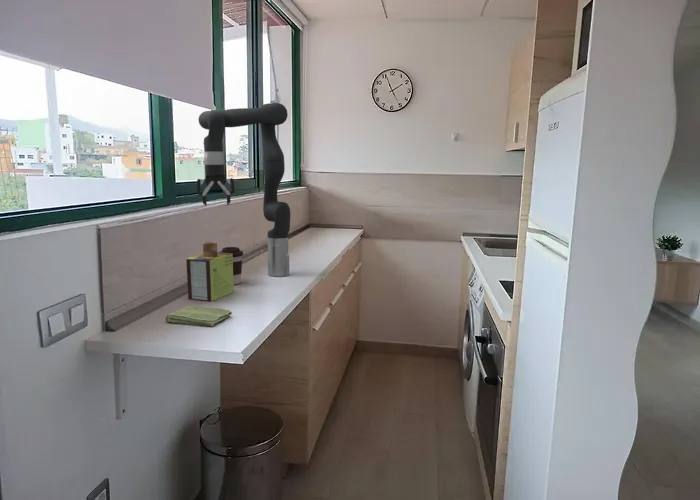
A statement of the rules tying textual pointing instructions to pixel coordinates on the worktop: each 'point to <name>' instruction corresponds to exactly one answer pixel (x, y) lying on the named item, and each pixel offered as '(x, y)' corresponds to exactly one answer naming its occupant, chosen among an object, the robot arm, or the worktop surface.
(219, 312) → the washcloth
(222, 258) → the protein box
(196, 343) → the worktop surface
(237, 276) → the coffee cup
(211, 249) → the walnut cube
